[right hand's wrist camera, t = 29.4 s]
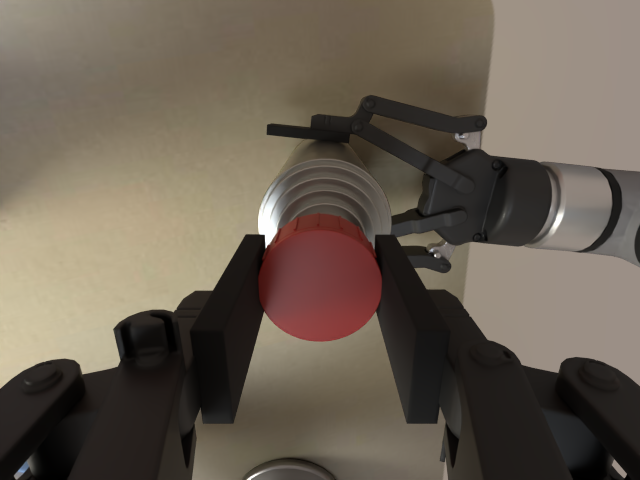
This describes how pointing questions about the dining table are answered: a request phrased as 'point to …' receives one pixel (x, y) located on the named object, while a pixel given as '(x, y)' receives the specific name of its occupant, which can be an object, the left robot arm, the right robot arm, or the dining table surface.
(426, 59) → the dining table surface
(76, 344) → the dining table surface
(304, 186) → the bottle
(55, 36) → the dining table surface
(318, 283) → the cap
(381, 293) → the right robot arm
